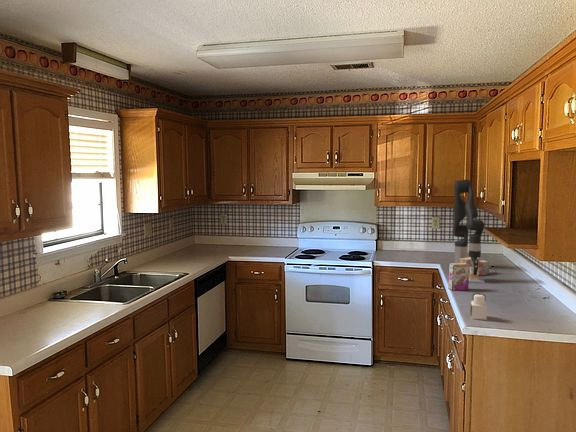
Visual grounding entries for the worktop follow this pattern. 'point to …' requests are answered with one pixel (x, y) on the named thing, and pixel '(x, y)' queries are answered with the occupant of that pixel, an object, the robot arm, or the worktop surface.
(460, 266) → the candy bar box
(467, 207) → the robot arm
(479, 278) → the base plate
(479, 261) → the stack of blocks
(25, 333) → the worktop surface
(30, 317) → the worktop surface
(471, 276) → the cream and brown block
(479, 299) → the medicine bottle
